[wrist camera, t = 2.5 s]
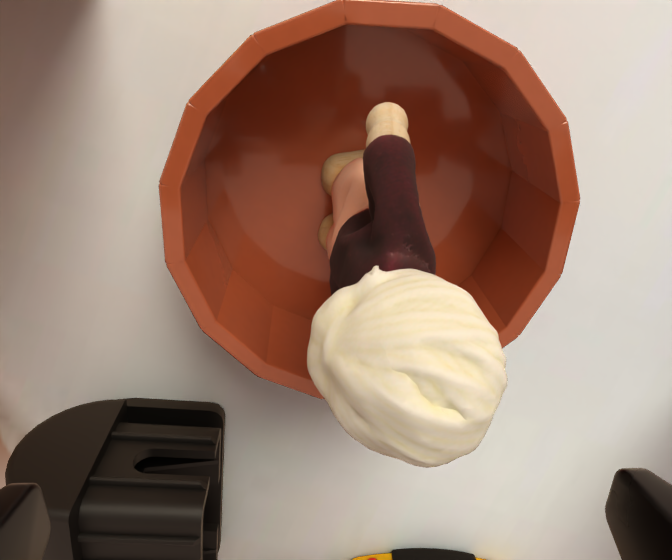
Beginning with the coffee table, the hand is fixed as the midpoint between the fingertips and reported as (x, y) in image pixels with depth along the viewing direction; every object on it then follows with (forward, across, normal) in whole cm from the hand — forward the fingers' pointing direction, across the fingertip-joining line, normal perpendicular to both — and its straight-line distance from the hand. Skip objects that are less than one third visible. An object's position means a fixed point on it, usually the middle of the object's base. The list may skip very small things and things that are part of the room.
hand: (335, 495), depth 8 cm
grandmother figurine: (+13, -2, -1) cm, 13 cm away
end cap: (+13, +8, +12) cm, 20 cm away
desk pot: (+13, -2, -1) cm, 13 cm away
